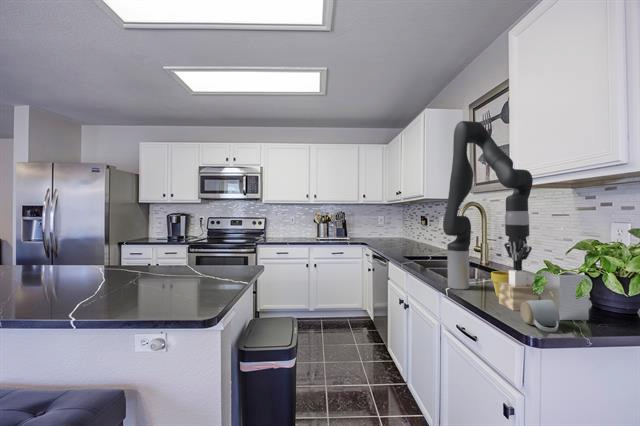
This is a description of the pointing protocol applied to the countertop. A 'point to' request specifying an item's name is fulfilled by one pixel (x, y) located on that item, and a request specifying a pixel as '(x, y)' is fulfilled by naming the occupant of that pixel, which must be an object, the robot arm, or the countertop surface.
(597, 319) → the countertop surface
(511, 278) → the plug
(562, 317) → the tall grey box
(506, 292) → the wooden box
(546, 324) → the ceramic mug
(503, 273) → the plant pot
